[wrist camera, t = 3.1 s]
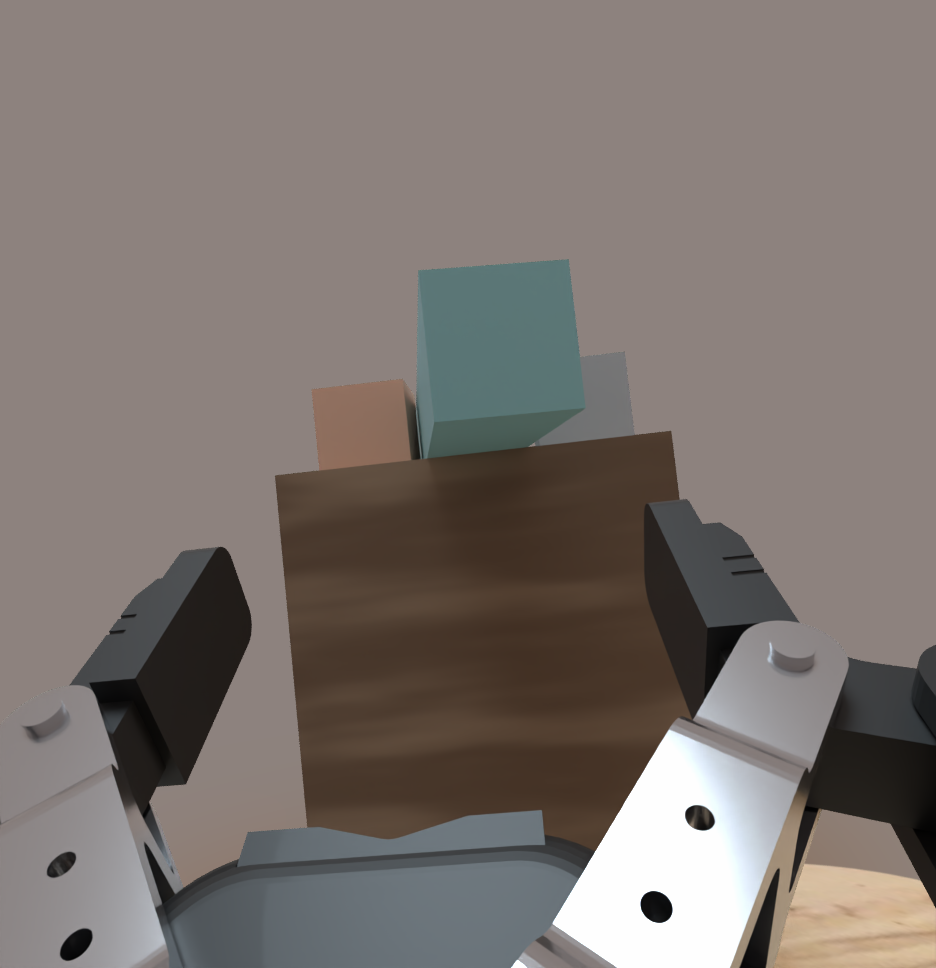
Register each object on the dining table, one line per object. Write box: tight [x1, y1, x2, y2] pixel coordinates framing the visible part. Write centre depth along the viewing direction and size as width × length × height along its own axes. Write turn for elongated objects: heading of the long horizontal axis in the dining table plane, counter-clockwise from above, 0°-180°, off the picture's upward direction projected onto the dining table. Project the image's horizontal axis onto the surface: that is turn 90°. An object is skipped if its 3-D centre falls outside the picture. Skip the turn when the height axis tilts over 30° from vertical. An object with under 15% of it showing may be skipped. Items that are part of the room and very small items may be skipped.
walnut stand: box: [275, 431, 692, 851], centre depth 33 cm, size 15×16×32 cm
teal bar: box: [416, 259, 586, 459], centre depth 29 cm, size 24×4×4 cm, turn 5°
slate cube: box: [535, 352, 635, 446], centre depth 34 cm, size 4×4×4 cm
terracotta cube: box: [312, 379, 421, 471], centre depth 35 cm, size 4×4×4 cm
